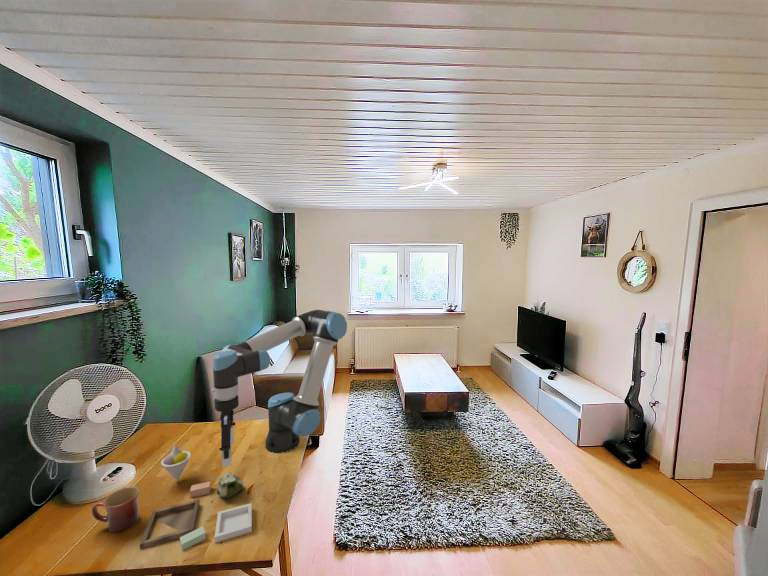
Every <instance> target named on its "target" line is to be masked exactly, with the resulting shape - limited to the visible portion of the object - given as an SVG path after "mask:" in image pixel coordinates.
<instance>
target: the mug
mask: <svg viewBox="0 0 768 576" xmlns="http://www.w3.org/2000/svg"><path fill="white" fill-rule="evenodd" d="M140 491H141V489H140V488H139V486H126V487H123V488H120V489H117V490H115V491H114V492H112V493H110V494H109V495H107V497H106V498H105V499H104V500H100V501H98V502H96V503H94V505H93V506H92V508H91V513H92V516H93V518H94V519H95V520H96V521H99V522H102V523H107V529H108V531H109V533H112V534H119V533H122V532H125V531H127V530H130V528H131V529H132V528H133V527H134V526H135V525H136V524H137V523H138V521H139V515H140V512H139V505H138V504H139V503H138V500H139V495H140ZM98 507H103V508H104V509H105V510H106V514H107V515H101V514H100V513H99V511H98Z"/></svg>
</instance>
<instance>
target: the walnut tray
mask: <svg viewBox="0 0 768 576" xmlns="http://www.w3.org/2000/svg"><path fill="white" fill-rule="evenodd" d="M199 508H200V499H195V500H194V499H193V500H190V501H187V502H183V503H179V504H176V505H170V506H167V507H162V508H160V509H155V510H153V511H152V512H151V514H150V518H149V520H148V523H147V525H146V527H145V530H144V533H143V535H142V538H141V540H140V543H139V549H141V550H142V549H145V548H148V547H152V546H155V545H156V546H157V545H159V544H163V543H167V542H171V541H174V540H180V537H182V536H184V535H186V534H188V533H190V532H192V531H194V530H195V527H196V526H195V525H196V522H197V517H198V513H199ZM155 521H157V522H160V523H161V524H164V525H165V526H168V527H170V528H172V529H175V530H177V531H174V532H170V533H167V534H163V535H160V536H156V537H153V538H149V536H150V535H151V532H152V529H153V527H154V524H155ZM148 538H149V539H148Z"/></svg>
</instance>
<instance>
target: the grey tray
mask: <svg viewBox="0 0 768 576" xmlns="http://www.w3.org/2000/svg"><path fill="white" fill-rule="evenodd" d="M252 524H253V504H252V502H251V503H247V504H243V505H239V506H235V507H233V508H227V509H225V510H221V511H217V517H216V524H215V531H214V532H215V533H214V543H216V544H217V543H219V542H223V541H226V540H229V539H234V538H239V537H241V536H244V534H245V535H248V534H250V533H249V532H252V531H253V528H252V527H253V525H252ZM247 533H248V534H247ZM252 533H253V532H252Z"/></svg>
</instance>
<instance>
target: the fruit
mask: <svg viewBox="0 0 768 576" xmlns="http://www.w3.org/2000/svg"><path fill="white" fill-rule="evenodd" d="M245 488H246V486H244V480H242V479H241V477H240V474H237V475H236V474H235V473H233V472H227V473H224V474H223V475H221V477H220V478H219V479H218V487H217V489H216V491H215V493H216V494H217V495H218V496H220V498H223V499H224V498H231V497H233V496H235V495H236V494H238V492H240V491H241V490H244V489H245Z"/></svg>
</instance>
